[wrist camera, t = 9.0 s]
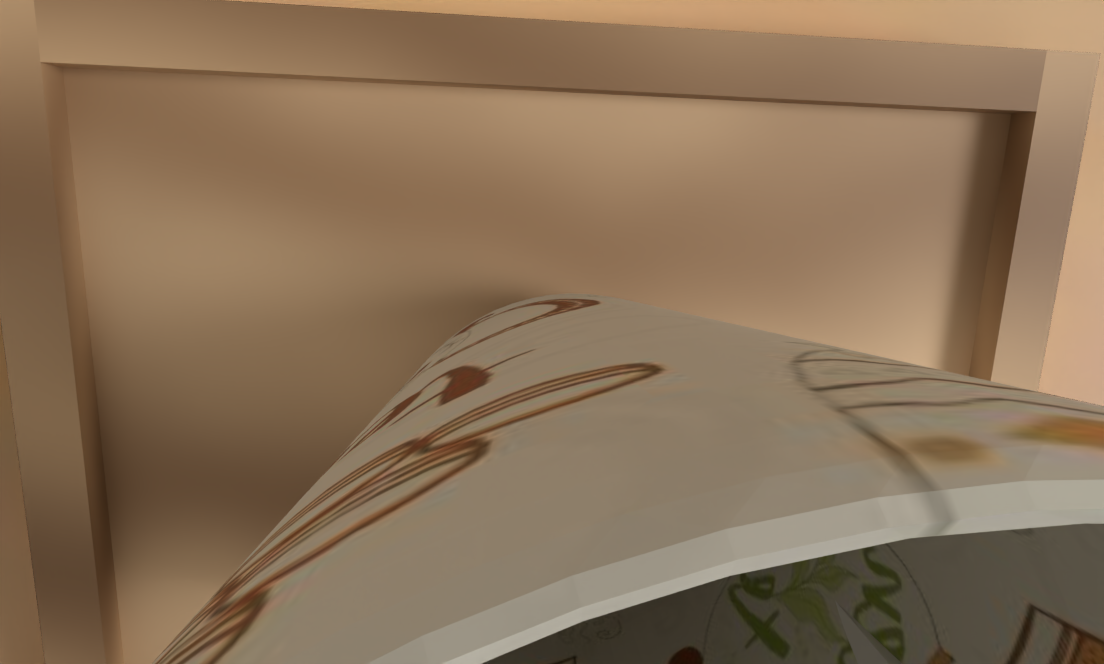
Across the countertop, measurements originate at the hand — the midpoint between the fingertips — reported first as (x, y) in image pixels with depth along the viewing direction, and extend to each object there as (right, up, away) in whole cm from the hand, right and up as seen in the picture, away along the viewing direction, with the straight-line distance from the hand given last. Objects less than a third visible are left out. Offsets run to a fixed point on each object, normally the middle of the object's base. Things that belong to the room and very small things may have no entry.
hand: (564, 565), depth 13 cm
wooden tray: (0, +1, +2) cm, 3 cm away
